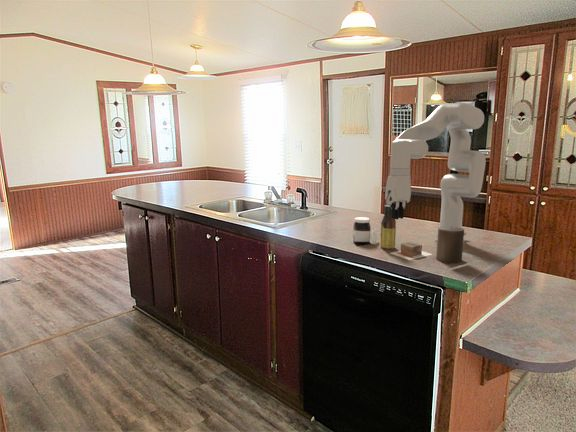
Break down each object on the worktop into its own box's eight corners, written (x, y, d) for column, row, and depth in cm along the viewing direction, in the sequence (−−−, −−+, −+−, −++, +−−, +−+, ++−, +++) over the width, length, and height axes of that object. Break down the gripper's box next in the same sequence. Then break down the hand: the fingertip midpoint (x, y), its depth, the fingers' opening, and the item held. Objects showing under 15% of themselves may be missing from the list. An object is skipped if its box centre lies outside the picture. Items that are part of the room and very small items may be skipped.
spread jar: (351, 240, 199) (352, 216, 197) (375, 239, 199) (376, 216, 197) (355, 247, 188) (356, 221, 185) (380, 247, 188) (381, 221, 185)
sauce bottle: (384, 246, 188) (386, 203, 183) (397, 249, 184) (399, 204, 180) (377, 250, 183) (379, 205, 178) (390, 252, 179) (392, 207, 175)
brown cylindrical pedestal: (461, 266, 160) (464, 228, 157) (434, 263, 164) (437, 226, 161) (461, 259, 169) (464, 223, 166) (436, 256, 173) (439, 221, 170)
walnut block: (410, 250, 178) (410, 241, 178) (421, 254, 173) (422, 245, 173) (400, 253, 175) (400, 243, 175) (411, 256, 170) (412, 247, 170)
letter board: (412, 249, 183) (412, 248, 183) (432, 256, 174) (432, 254, 173) (389, 254, 176) (389, 253, 175) (409, 261, 166) (409, 259, 166)
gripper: (406, 170, 170) (404, 214, 174) (377, 172, 162) (376, 219, 165) (421, 172, 164) (418, 217, 167) (392, 174, 155) (389, 222, 159)
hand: (397, 218), depth 166 cm, fingers closed
